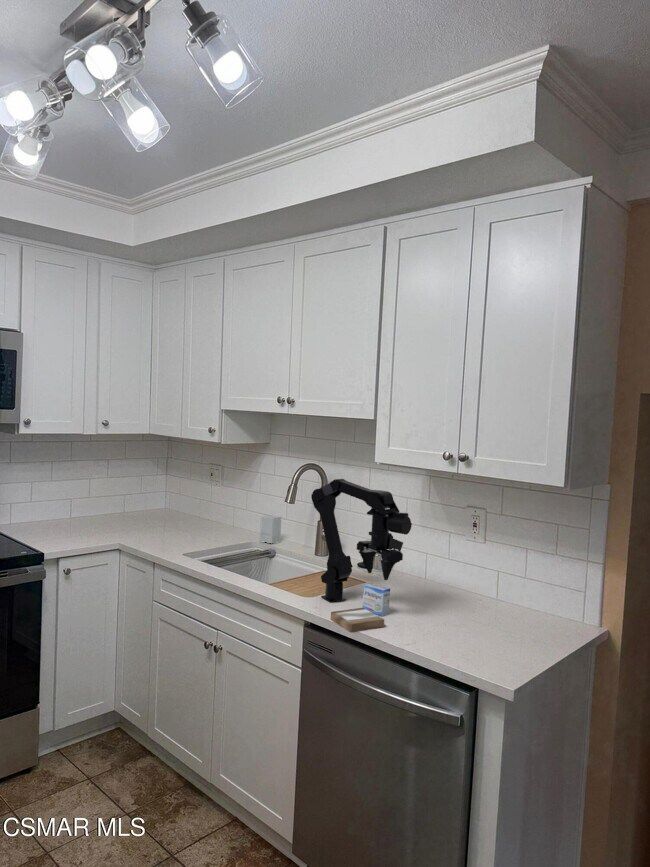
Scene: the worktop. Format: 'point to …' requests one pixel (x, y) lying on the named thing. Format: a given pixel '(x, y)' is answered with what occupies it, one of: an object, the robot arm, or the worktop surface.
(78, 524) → the worktop surface
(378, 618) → the brown open-top box
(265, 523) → the supplement box
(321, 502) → the robot arm
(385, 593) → the medicine box
